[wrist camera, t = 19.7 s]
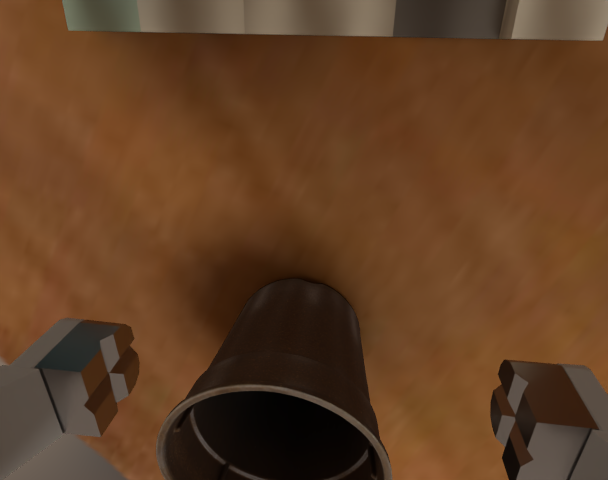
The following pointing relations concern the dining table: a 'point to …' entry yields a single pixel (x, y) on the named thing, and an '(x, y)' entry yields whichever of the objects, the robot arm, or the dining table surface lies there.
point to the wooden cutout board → (348, 17)
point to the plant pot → (280, 397)
